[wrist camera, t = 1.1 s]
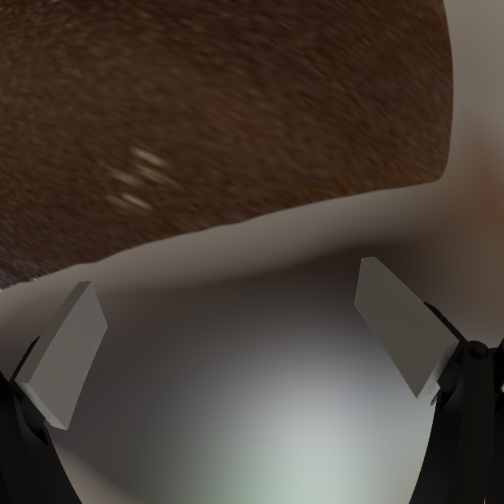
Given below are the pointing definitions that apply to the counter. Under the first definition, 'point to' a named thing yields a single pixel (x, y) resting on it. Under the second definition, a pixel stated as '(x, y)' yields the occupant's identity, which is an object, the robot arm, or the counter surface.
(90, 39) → the counter surface
